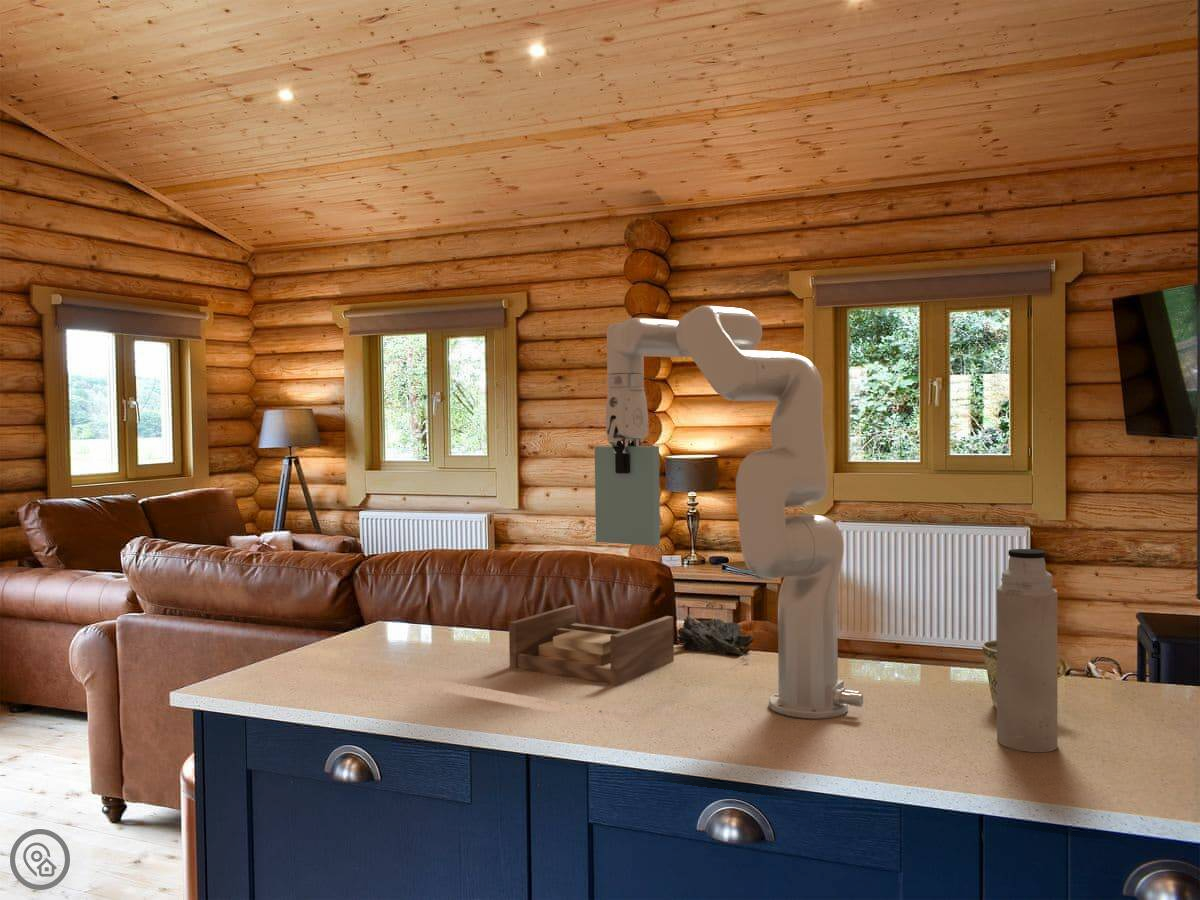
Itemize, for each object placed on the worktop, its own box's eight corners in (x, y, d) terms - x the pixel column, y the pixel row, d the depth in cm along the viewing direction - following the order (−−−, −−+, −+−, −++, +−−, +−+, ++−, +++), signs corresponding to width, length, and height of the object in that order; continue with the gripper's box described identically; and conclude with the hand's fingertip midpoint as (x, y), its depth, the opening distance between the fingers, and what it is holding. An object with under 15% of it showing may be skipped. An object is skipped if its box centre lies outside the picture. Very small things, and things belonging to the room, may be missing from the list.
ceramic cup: (970, 707, 154) (970, 646, 154) (1001, 695, 161) (1000, 636, 160) (1050, 725, 144) (1050, 660, 144) (1079, 712, 151) (1079, 650, 150)
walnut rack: (673, 668, 181) (673, 616, 180) (618, 694, 164) (617, 636, 164) (571, 653, 194) (570, 604, 194) (509, 675, 177) (509, 622, 177)
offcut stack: (633, 667, 176) (633, 635, 176) (607, 678, 168) (606, 645, 168) (563, 657, 185) (562, 626, 185) (535, 667, 177) (535, 635, 177)
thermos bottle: (1007, 730, 142) (1007, 544, 141) (1064, 741, 137) (1064, 548, 136) (988, 744, 136) (988, 550, 136) (1047, 756, 131) (1047, 555, 130)
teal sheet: (660, 544, 192) (658, 446, 192) (653, 545, 190) (652, 446, 190) (602, 540, 200) (601, 446, 200) (595, 541, 198) (594, 446, 197)
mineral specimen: (671, 636, 185) (690, 591, 189) (671, 654, 196) (689, 611, 200) (744, 666, 181) (761, 619, 186) (739, 682, 193) (756, 638, 197)
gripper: (620, 381, 186) (621, 475, 186) (661, 384, 199) (662, 471, 199) (588, 382, 190) (589, 474, 190) (630, 385, 203) (631, 471, 204)
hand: (626, 472), depth 195 cm, fingers closed on teal sheet, 2 cm apart
